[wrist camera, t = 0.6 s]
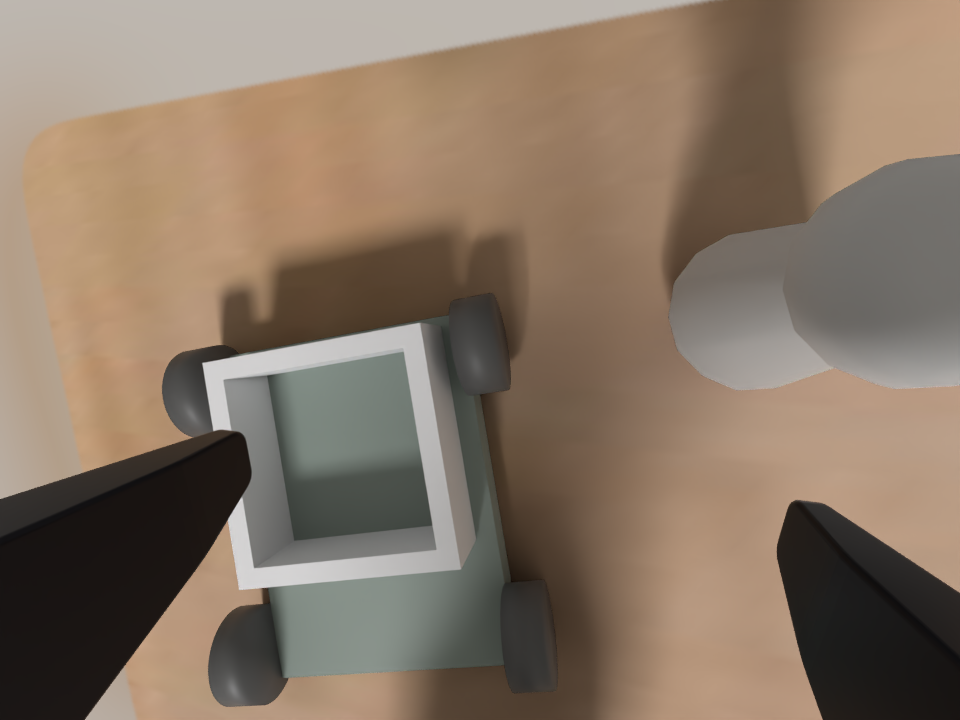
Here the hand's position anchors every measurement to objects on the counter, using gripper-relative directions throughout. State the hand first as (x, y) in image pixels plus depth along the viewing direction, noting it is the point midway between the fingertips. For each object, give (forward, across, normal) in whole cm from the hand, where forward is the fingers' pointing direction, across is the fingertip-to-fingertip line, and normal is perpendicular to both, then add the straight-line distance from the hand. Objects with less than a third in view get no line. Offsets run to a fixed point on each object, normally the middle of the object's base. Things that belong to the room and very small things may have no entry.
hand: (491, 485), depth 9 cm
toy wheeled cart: (+12, +7, +10) cm, 17 cm away
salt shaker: (+15, -7, +1) cm, 17 cm away
